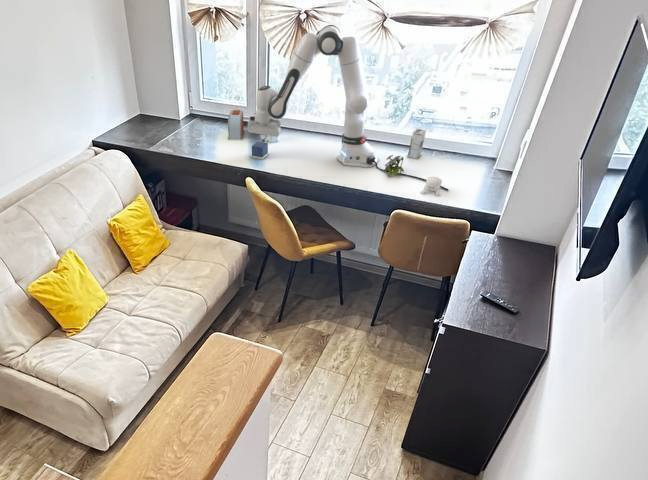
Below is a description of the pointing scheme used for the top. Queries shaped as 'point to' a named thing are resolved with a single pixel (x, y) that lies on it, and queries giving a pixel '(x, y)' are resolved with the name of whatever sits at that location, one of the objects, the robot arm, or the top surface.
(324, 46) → the robot arm
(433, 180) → the white lumpy piece
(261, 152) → the dark blue cube
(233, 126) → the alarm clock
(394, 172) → the passion flower
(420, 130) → the syrup box
